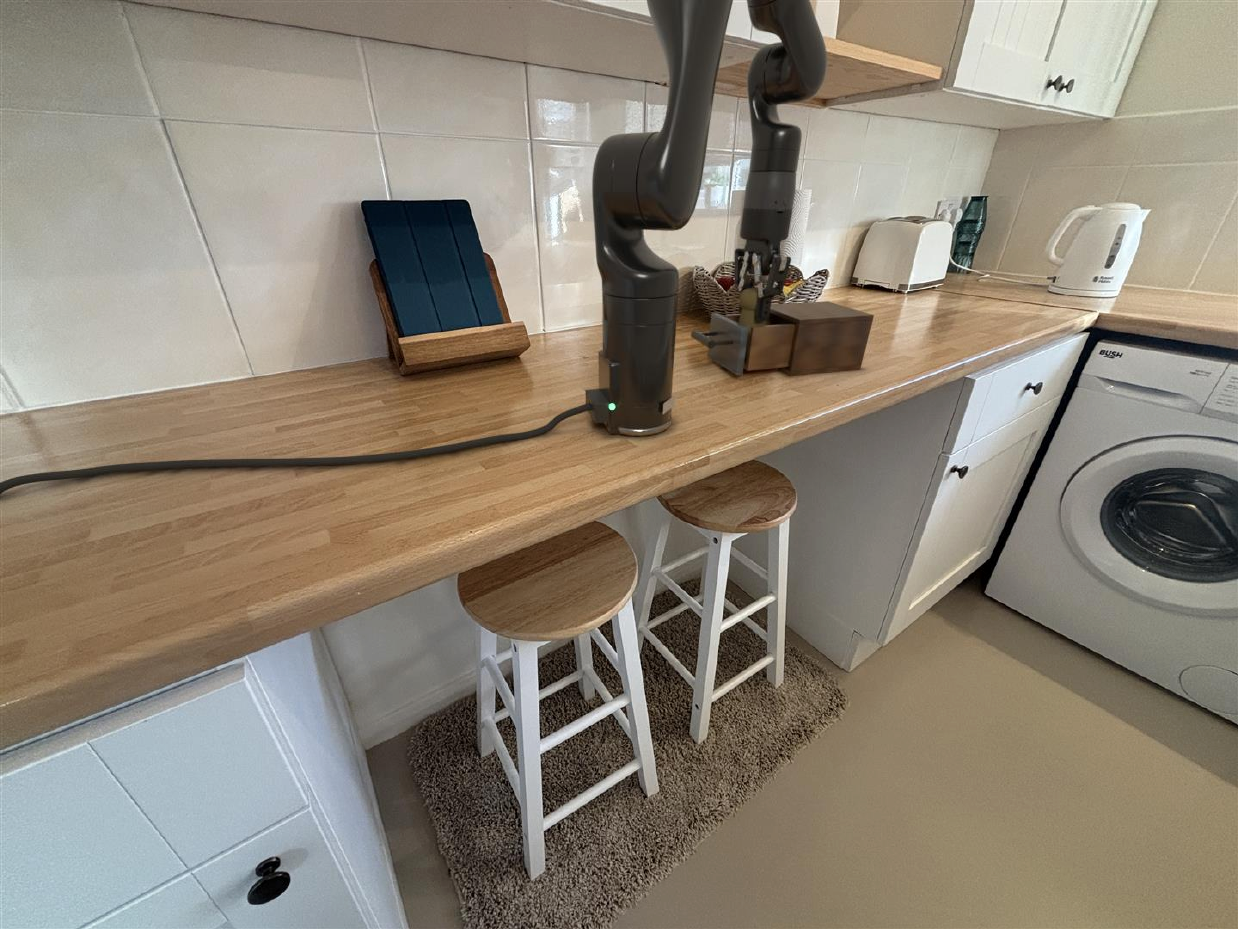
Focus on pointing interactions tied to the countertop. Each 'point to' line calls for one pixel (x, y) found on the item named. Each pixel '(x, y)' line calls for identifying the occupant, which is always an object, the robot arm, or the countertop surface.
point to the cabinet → (825, 336)
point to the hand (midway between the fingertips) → (752, 316)
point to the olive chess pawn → (749, 311)
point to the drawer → (765, 343)
